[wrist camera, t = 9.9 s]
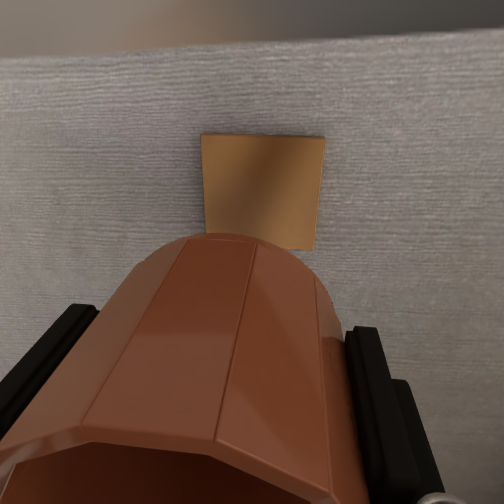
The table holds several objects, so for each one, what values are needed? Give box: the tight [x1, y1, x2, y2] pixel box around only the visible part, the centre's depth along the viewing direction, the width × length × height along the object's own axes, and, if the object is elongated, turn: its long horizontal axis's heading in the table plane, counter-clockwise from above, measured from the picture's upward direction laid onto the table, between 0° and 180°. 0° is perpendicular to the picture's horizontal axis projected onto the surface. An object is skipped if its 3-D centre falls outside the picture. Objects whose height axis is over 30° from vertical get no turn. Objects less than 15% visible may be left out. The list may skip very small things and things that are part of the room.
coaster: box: [200, 133, 325, 251], centre depth 22 cm, size 7×7×1 cm
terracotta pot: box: [0, 233, 370, 504], centre depth 9 cm, size 7×7×6 cm
